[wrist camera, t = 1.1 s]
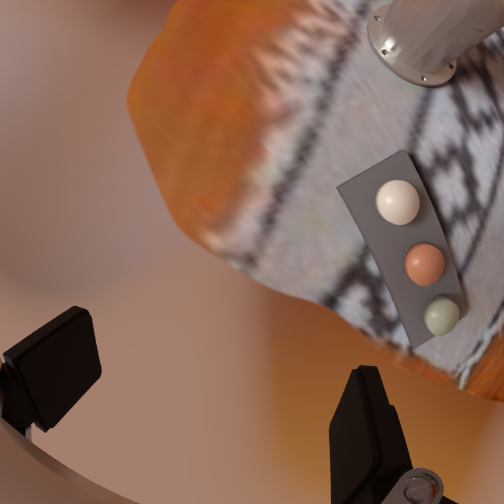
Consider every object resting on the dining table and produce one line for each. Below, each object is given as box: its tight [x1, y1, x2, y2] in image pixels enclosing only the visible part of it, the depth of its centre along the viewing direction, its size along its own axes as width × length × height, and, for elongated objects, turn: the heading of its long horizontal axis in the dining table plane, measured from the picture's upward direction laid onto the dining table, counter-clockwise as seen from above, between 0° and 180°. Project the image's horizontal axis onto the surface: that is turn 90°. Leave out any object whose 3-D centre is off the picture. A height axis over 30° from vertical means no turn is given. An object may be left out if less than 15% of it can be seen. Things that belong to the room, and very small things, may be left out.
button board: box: [336, 150, 467, 349], centre depth 30 cm, size 9×23×2 cm, turn 32°
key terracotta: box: [403, 242, 444, 286], centre depth 27 cm, size 4×4×2 cm
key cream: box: [375, 180, 420, 225], centre depth 26 cm, size 4×4×2 cm
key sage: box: [423, 296, 459, 336], centre depth 28 cm, size 4×4×2 cm
